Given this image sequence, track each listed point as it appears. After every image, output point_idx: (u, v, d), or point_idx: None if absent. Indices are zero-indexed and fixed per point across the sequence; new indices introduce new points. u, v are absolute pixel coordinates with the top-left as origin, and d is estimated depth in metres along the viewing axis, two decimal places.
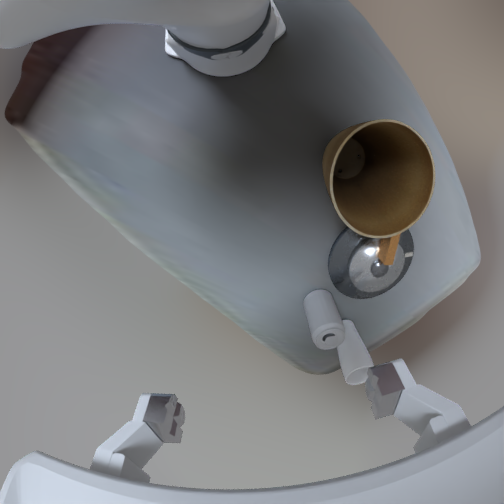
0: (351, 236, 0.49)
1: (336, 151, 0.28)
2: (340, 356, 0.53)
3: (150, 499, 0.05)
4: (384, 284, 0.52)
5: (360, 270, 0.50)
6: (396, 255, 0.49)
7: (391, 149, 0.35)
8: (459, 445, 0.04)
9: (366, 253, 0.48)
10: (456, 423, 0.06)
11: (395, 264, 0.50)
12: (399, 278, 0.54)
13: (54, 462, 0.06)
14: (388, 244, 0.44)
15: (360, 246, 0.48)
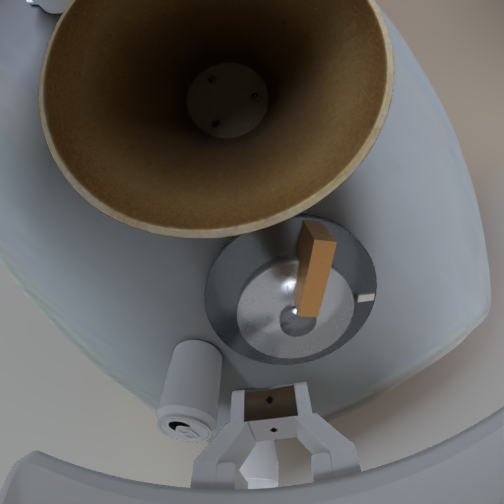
0: (242, 253, 0.27)
1: None
2: None
3: (151, 499, 0.05)
4: (312, 348, 0.29)
5: (257, 319, 0.27)
6: (335, 297, 0.26)
7: (299, 52, 0.15)
8: (459, 445, 0.04)
9: (268, 288, 0.26)
10: (343, 464, 0.06)
11: (334, 315, 0.27)
12: (347, 337, 0.32)
13: (54, 462, 0.06)
14: (306, 274, 0.22)
15: (257, 273, 0.26)
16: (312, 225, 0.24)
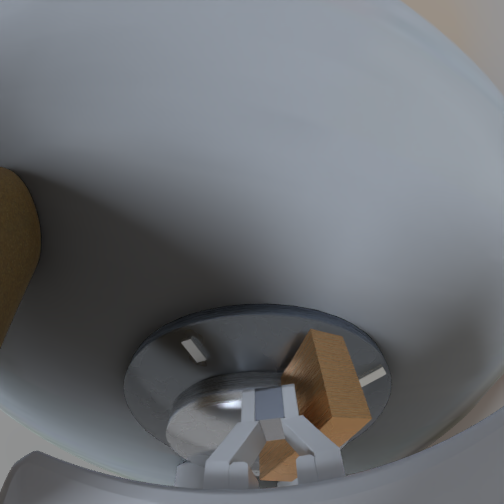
0: (143, 395, 0.16)
1: None
2: None
3: (151, 499, 0.05)
4: None
5: (196, 442, 0.14)
6: None
7: None
8: (459, 445, 0.04)
9: (219, 419, 0.13)
10: (328, 468, 0.06)
11: None
12: (372, 417, 0.17)
13: (54, 462, 0.06)
14: None
15: (206, 394, 0.13)
16: (328, 353, 0.11)
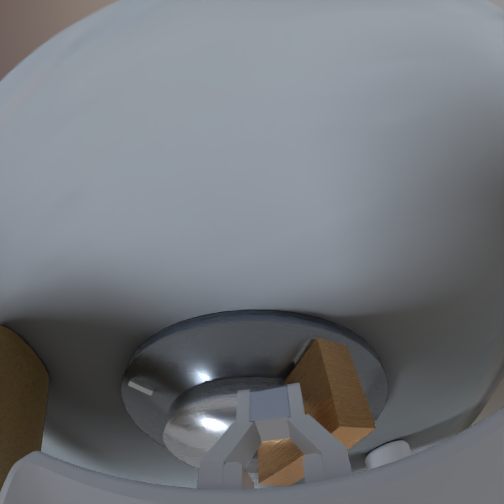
0: (158, 432, 0.18)
1: None
2: None
3: (150, 499, 0.05)
4: None
5: (193, 444, 0.14)
6: None
7: None
8: (459, 445, 0.04)
9: (220, 423, 0.13)
10: (335, 466, 0.06)
11: None
12: (379, 380, 0.15)
13: (55, 462, 0.06)
14: (295, 452, 0.09)
15: (208, 397, 0.13)
16: (334, 362, 0.11)
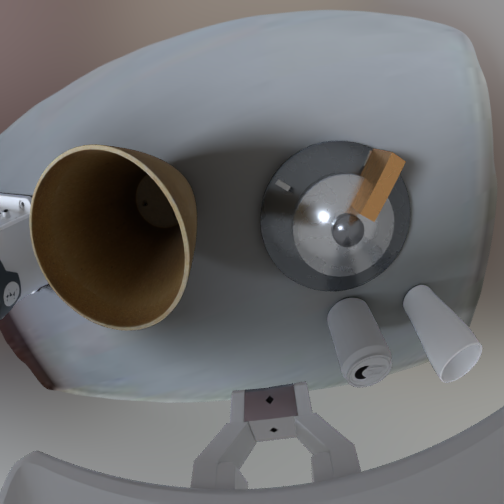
0: (275, 240, 0.33)
1: None
2: None
3: (151, 499, 0.05)
4: (346, 268, 0.32)
5: (313, 218, 0.29)
6: (381, 222, 0.29)
7: None
8: (459, 445, 0.04)
9: (333, 191, 0.28)
10: (343, 464, 0.06)
11: (375, 239, 0.30)
12: (403, 192, 0.30)
13: (55, 462, 0.06)
14: (377, 178, 0.24)
15: (327, 176, 0.28)
16: None
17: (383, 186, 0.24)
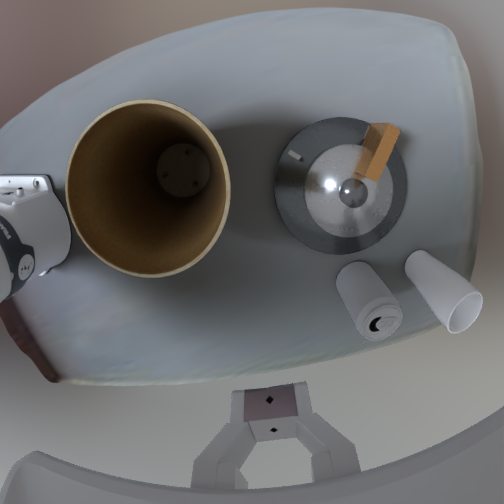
0: (288, 205, 0.36)
1: None
2: (430, 308, 0.33)
3: (151, 499, 0.05)
4: (353, 229, 0.35)
5: (323, 183, 0.32)
6: (381, 187, 0.32)
7: (163, 125, 0.26)
8: (459, 445, 0.04)
9: (339, 158, 0.31)
10: (343, 464, 0.06)
11: (377, 202, 0.33)
12: (399, 162, 0.33)
13: (54, 462, 0.06)
14: (377, 145, 0.27)
15: (333, 146, 0.31)
16: None
17: (383, 151, 0.27)
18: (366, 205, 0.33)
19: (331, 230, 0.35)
